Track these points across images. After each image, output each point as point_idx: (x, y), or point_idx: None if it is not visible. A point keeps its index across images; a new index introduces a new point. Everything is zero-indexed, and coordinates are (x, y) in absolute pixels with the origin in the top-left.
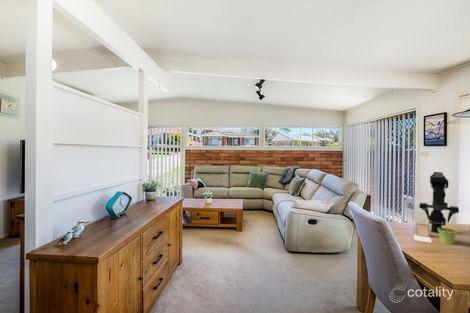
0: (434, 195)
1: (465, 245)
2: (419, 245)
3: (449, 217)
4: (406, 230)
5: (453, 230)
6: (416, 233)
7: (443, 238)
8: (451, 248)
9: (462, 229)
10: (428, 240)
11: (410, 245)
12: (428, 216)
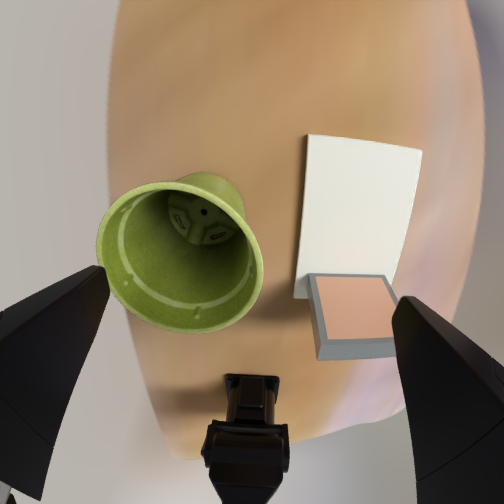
0: None
1: None
2: (392, 40)
3: (7, 318)
4: None
5: (131, 302)
6: (387, 283)
7: (217, 185)
8: (178, 103)
9: (169, 433)
10: (325, 188)
11: (438, 19)
12: (447, 336)
